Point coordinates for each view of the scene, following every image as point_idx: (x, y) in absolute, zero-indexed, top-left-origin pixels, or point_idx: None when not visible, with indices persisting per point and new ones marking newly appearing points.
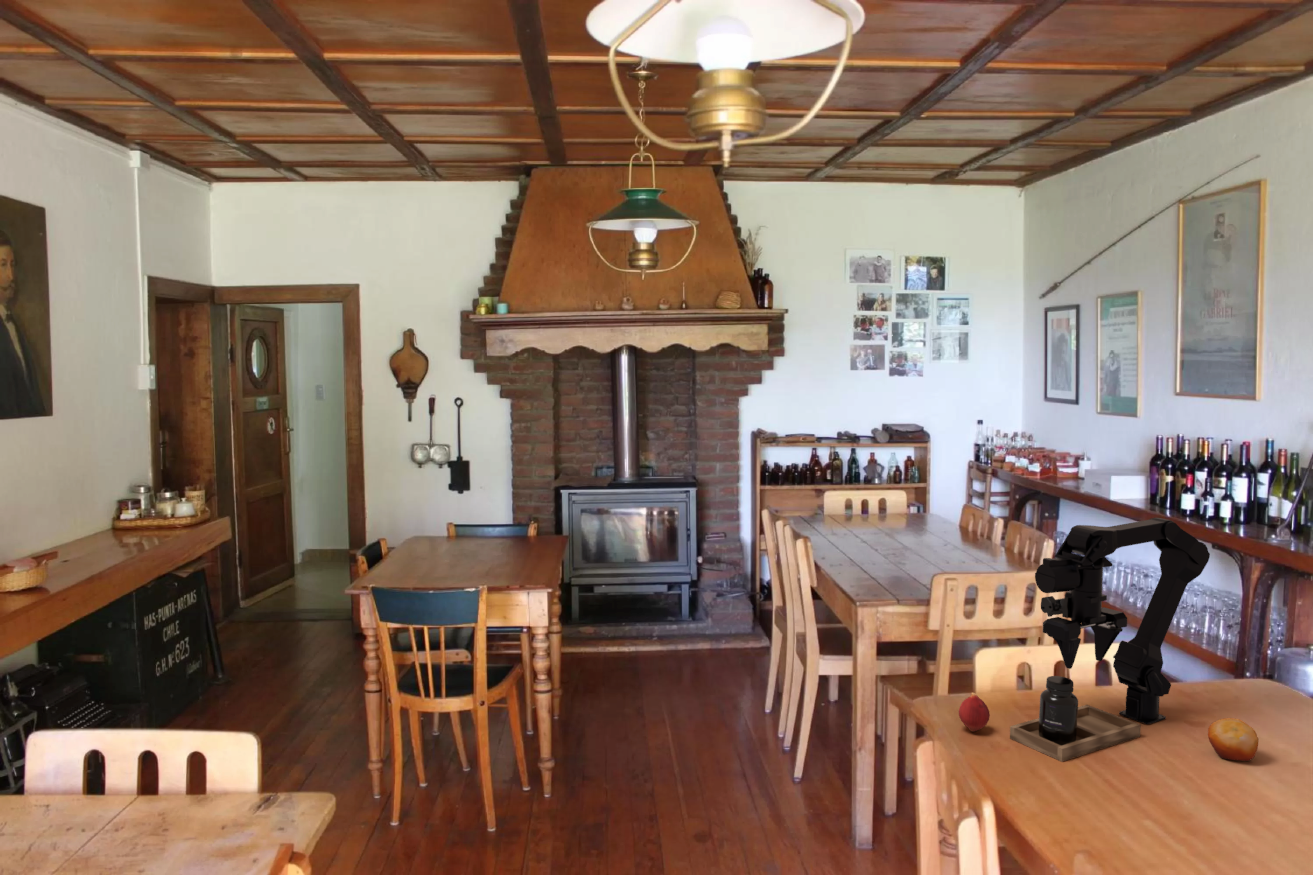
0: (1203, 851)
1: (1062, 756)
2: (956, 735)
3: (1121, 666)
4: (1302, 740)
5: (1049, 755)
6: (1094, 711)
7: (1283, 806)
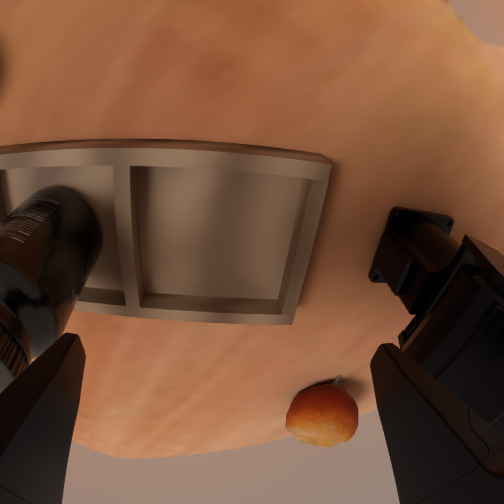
0: None
1: None
2: None
3: (456, 323)
4: None
5: None
6: (304, 200)
7: (210, 445)
